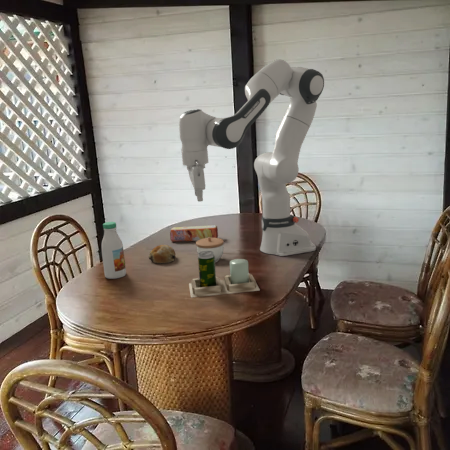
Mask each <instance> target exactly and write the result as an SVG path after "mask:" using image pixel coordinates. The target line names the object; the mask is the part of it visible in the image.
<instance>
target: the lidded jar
mask: <svg viewBox="0 0 450 450" xmlns="http://www.w3.org/2000/svg"><path fill="white" fill-rule="evenodd" d="M224 242H225V241H224V239H223V238H219V237H218V238H211V237H208V238H204V239H200V240H198V241H195V246H196V251H197V252H196V253H197V254H198V253H199V252H202V251H212V252H214V256H215V263H217V262H219V261H220V259H221V258H222V256H223V254H224V249H225V248H224Z"/></svg>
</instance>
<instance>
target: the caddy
mask: <svg viewBox="0 0 450 450" xmlns="http://www.w3.org/2000/svg"><path fill="white" fill-rule="evenodd" d="M188 287H189V293H190V294H189V295H190V298H198V297H199V298H200V297H208V296H218V295H229V294H238V293H249V292H250V293H251V292H257V291H260V290H261V289H260V288H259V286H258V284H257V282H256V279H255V277H254V276H253V274H252V273H249V283H239V284H231V279H230V274H228V275H227V274H226V275H225V276H224V277H223V279H221V278H220V277H218V276H216V286H209V287H200V280H199V277H197V278H192V279H191V280H190V282H189V283H188Z"/></svg>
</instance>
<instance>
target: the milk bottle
mask: <svg viewBox="0 0 450 450" xmlns="http://www.w3.org/2000/svg"><path fill="white" fill-rule="evenodd" d="M102 228H103V236H102V237H103V238H102V240H101V257H102V265H103V272H104V277H105V278H106V279H108V280H109V279H111V280H112V279H113V280H115V279H116V280H117V279H121V278H124V277H125V276H126V274H127V268H126V259H125V251H124V245H123V241H122V239H121V237H120V235H119V233H118V232H117V222H115V221H107V222H104V223H103V224H102Z"/></svg>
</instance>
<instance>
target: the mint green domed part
mask: <svg viewBox="0 0 450 450" xmlns="http://www.w3.org/2000/svg"><path fill="white" fill-rule="evenodd" d="M229 275H230V279H231V284H239V283H249V261H248V260H247V259H244V258H235V259H231V260H229Z"/></svg>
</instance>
